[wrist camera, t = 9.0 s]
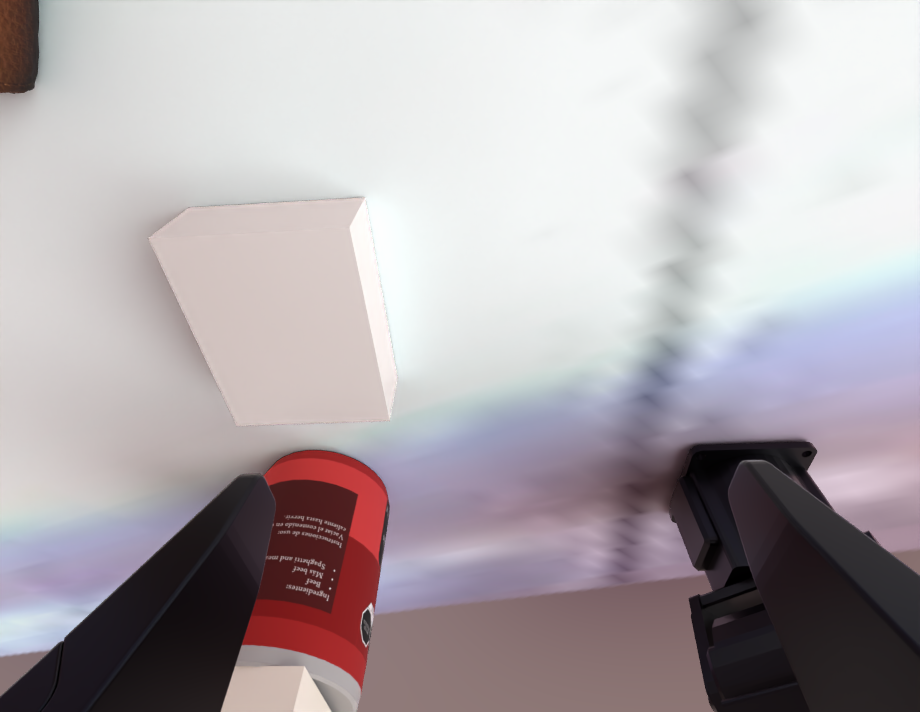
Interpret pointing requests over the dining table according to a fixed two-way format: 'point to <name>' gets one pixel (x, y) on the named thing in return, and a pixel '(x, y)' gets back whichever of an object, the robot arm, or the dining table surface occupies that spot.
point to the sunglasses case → (18, 45)
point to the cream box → (273, 690)
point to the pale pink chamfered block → (285, 308)
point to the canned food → (320, 573)
